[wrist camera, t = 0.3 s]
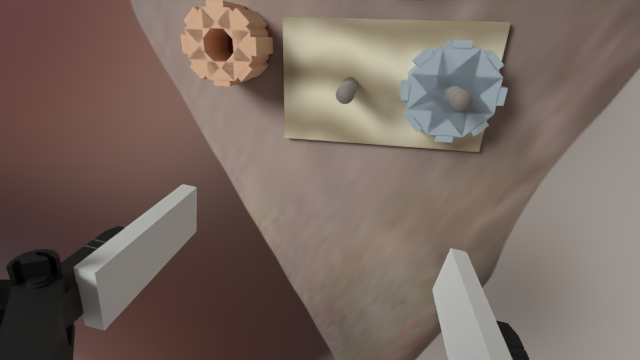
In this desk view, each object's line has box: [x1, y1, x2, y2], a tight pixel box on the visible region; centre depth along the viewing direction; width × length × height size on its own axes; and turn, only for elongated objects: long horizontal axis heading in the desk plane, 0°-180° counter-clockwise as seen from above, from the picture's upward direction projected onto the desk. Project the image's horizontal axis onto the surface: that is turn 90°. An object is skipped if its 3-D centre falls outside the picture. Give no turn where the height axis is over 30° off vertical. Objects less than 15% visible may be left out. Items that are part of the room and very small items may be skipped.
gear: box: [399, 40, 508, 143], centre depth 35 cm, size 10×10×3 cm
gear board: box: [283, 17, 511, 152], centre depth 34 cm, size 14×24×8 cm, turn 88°
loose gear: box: [181, 0, 273, 86], centre depth 36 cm, size 8×8×6 cm
